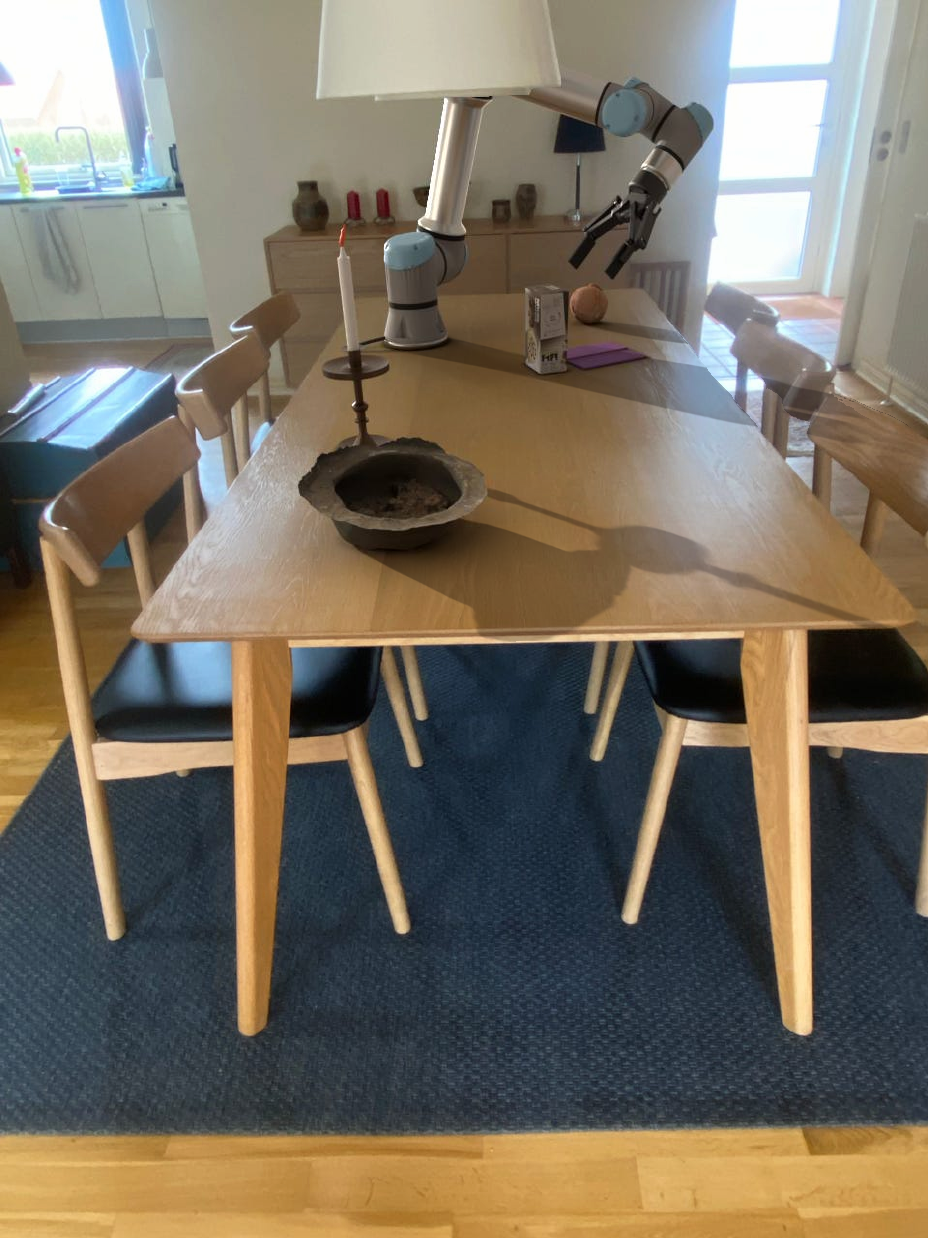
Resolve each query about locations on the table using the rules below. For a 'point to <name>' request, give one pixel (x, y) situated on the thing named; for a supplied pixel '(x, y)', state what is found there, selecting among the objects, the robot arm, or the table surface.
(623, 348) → the napkin
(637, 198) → the robot arm
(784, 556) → the table surface
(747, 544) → the table surface
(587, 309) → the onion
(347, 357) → the candlestick
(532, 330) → the coffee box
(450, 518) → the stone bowl
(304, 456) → the table surface
